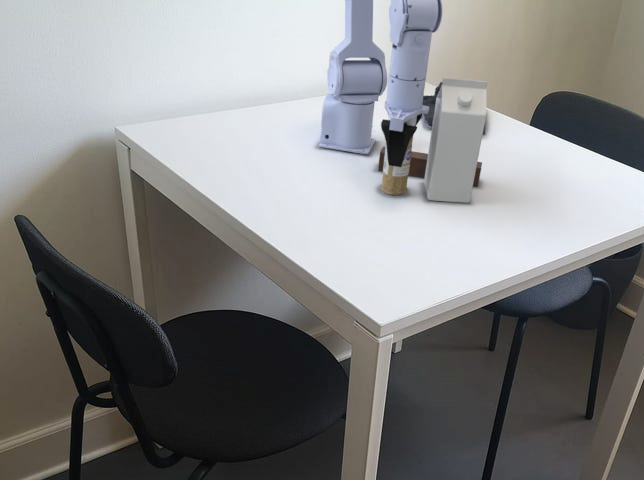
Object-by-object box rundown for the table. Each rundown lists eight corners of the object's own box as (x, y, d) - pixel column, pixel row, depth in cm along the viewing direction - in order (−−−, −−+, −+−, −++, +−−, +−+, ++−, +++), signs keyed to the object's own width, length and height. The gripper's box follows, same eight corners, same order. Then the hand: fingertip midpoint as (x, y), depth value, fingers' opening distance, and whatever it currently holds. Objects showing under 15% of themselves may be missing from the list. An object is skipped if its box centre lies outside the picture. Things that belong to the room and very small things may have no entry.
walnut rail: (377, 171, 128) (379, 152, 126) (380, 165, 131) (382, 146, 129) (477, 187, 127) (481, 168, 125) (478, 180, 129) (482, 162, 127)
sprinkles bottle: (402, 198, 120) (413, 118, 112) (376, 192, 121) (385, 112, 113) (409, 188, 123) (420, 110, 115) (384, 182, 124) (393, 104, 116)
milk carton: (423, 183, 126) (440, 71, 114) (463, 186, 126) (483, 75, 115) (427, 201, 120) (445, 84, 109) (469, 204, 121) (491, 88, 109)
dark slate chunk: (413, 130, 147) (416, 107, 145) (417, 98, 165) (420, 77, 162) (487, 139, 147) (491, 116, 144) (483, 107, 165) (487, 85, 162)
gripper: (427, 92, 105) (415, 180, 113) (438, 67, 116) (426, 149, 124) (380, 85, 105) (371, 173, 113) (395, 61, 117) (386, 142, 125)
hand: (397, 160), depth 119 cm, fingers closed on sprinkles bottle, 4 cm apart
